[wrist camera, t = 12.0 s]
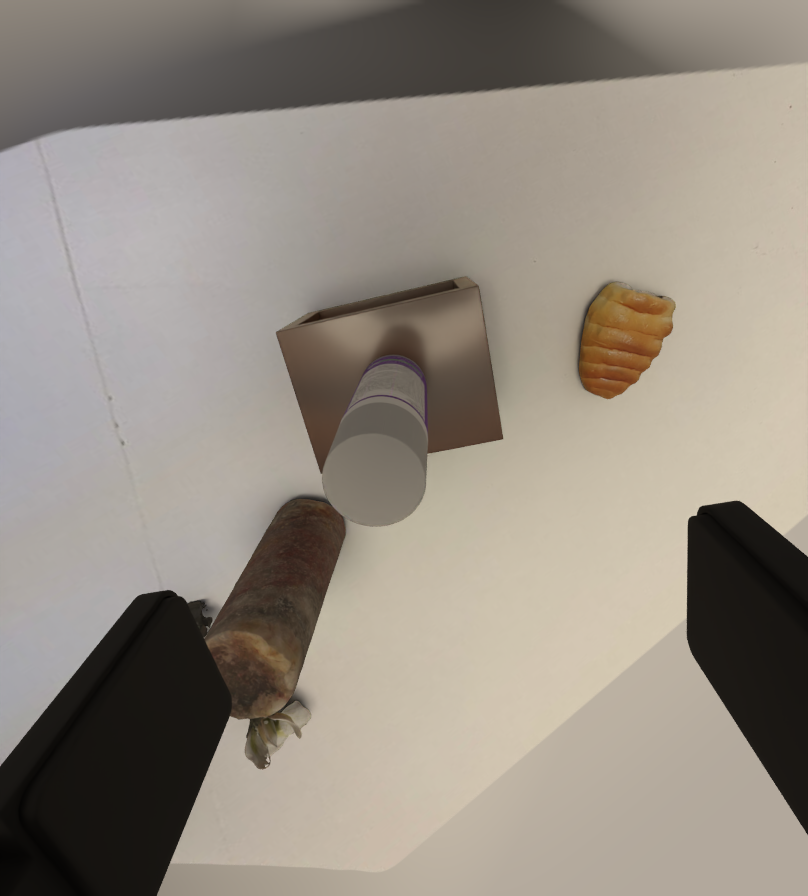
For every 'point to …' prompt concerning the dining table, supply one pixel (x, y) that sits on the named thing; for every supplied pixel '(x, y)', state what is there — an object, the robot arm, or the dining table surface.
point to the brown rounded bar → (276, 608)
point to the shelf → (406, 334)
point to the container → (381, 446)
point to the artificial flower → (262, 731)
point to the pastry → (622, 337)
